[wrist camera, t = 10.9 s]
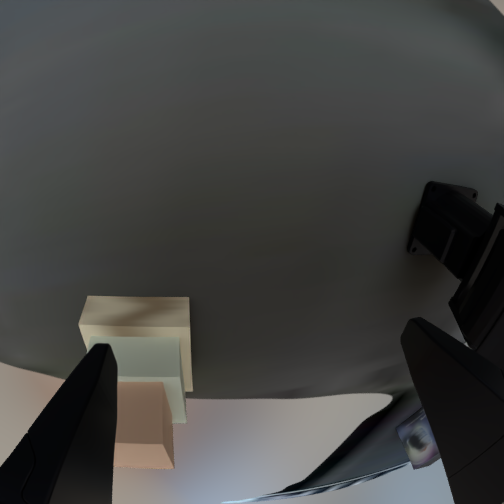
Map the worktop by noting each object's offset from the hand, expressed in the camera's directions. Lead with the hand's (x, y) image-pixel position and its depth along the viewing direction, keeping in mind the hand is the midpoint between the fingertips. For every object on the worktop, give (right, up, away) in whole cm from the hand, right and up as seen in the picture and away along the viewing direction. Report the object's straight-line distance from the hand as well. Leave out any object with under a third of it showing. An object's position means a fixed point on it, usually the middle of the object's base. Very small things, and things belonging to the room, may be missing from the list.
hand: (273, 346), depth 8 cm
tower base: (-10, -4, +16) cm, 20 cm away
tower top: (-9, -6, +14) cm, 18 cm away
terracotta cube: (-9, -8, +11) cm, 15 cm away
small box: (+32, -28, +40) cm, 58 cm away
